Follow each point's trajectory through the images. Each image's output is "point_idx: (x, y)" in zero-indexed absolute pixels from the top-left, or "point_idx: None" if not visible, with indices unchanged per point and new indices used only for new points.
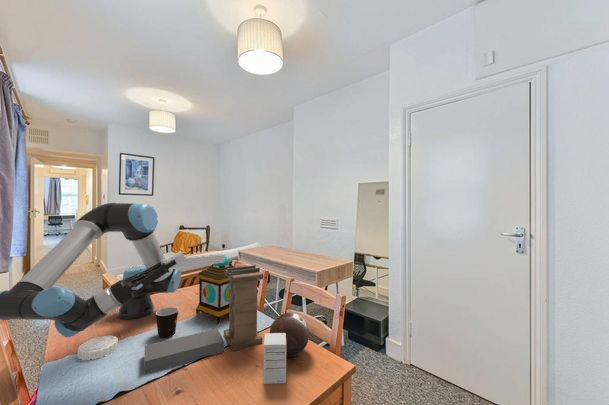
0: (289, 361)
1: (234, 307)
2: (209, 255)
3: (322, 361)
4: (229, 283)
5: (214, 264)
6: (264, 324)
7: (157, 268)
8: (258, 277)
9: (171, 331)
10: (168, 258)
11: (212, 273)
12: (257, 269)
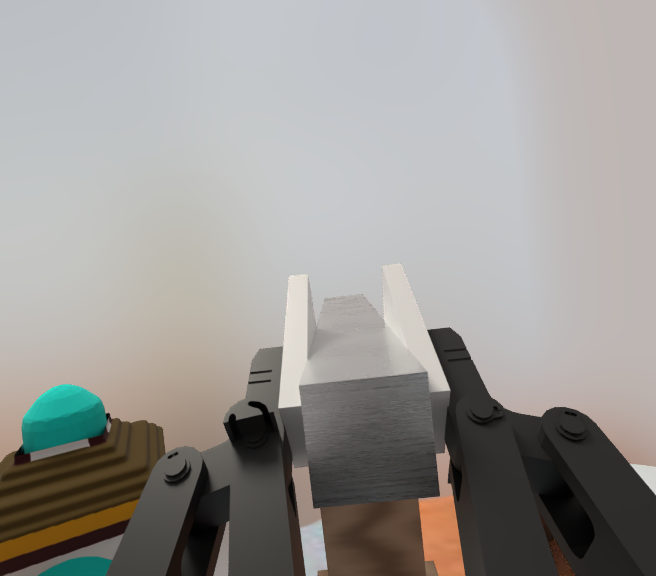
0: (554, 541)
1: (404, 515)
2: (343, 303)
3: None
4: None
5: (19, 452)
6: (320, 546)
7: (500, 494)
8: None
9: None
10: (301, 360)
11: (80, 487)
12: None
